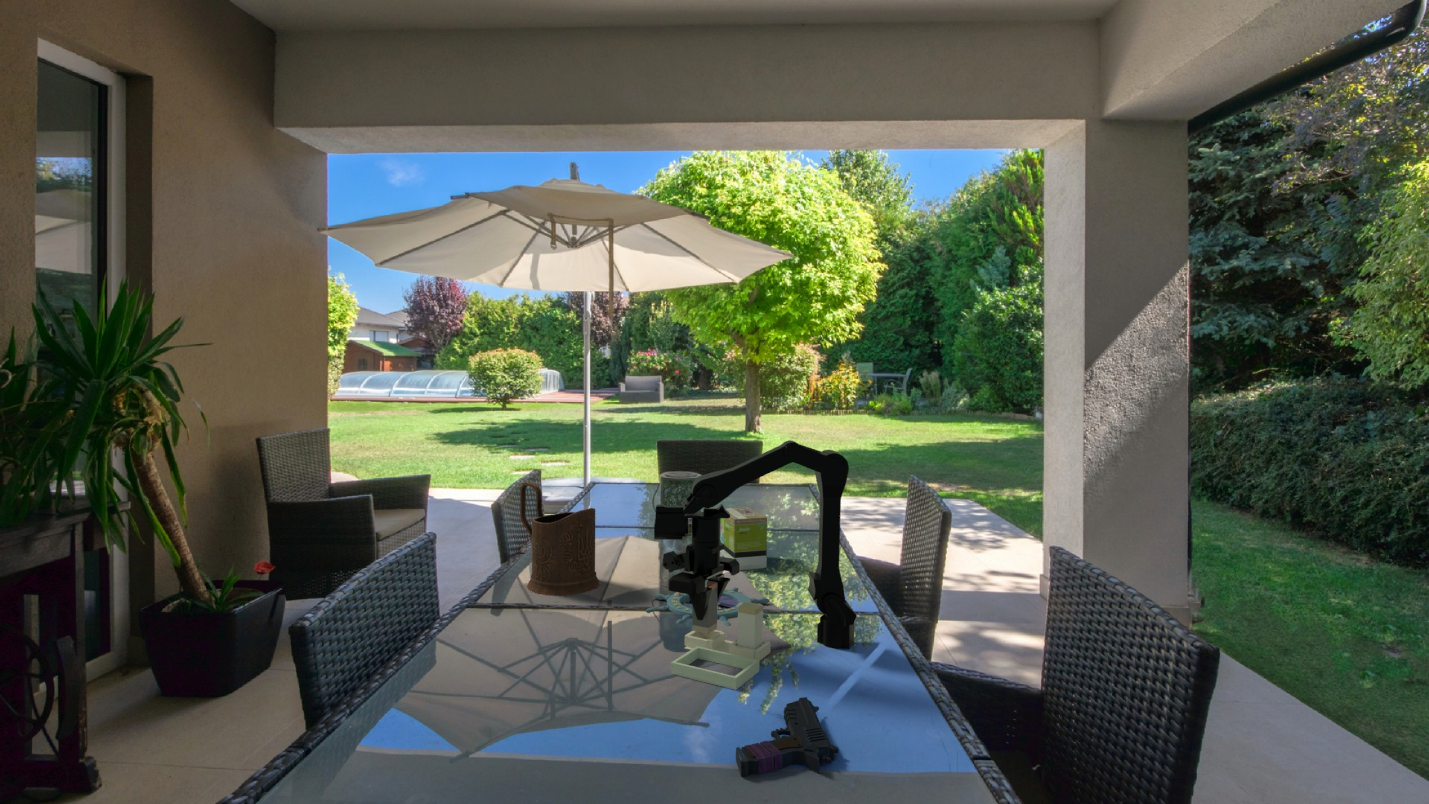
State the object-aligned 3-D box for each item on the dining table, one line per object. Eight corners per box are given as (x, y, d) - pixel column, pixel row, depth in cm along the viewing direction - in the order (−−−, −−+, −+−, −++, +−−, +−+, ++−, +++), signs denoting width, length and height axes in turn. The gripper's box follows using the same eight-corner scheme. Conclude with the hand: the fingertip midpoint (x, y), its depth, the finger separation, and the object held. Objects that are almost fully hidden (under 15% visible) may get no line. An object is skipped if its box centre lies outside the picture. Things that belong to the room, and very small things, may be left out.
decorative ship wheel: (793, 589, 182) (739, 627, 156) (793, 603, 182) (739, 643, 156) (685, 572, 196) (618, 604, 170) (685, 584, 196) (618, 618, 170)
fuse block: (773, 655, 149) (773, 640, 148) (755, 669, 142) (755, 653, 141) (701, 639, 156) (701, 625, 156) (681, 652, 149) (681, 637, 149)
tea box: (717, 557, 223) (717, 507, 222) (749, 555, 226) (750, 506, 225) (733, 571, 208) (734, 517, 207) (767, 568, 211) (768, 516, 210)
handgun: (727, 714, 125) (818, 712, 125) (738, 781, 105) (846, 778, 106) (727, 697, 124) (818, 695, 125) (738, 761, 105) (846, 758, 105)
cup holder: (565, 600, 181) (566, 496, 180) (495, 584, 193) (495, 486, 192) (615, 582, 197) (615, 486, 195) (546, 567, 209) (547, 477, 208)
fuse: (762, 652, 147) (763, 604, 147) (754, 658, 144) (754, 610, 144) (745, 649, 149) (746, 601, 148) (737, 655, 146) (738, 606, 145)
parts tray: (759, 676, 138) (759, 660, 138) (735, 695, 130) (736, 678, 130) (696, 661, 145) (697, 646, 145) (670, 678, 137) (671, 662, 137)
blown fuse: (716, 628, 152) (717, 582, 151) (708, 634, 149) (708, 586, 148) (701, 625, 154) (702, 579, 153) (692, 630, 150) (692, 583, 150)
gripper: (694, 526, 162) (693, 598, 163) (645, 543, 146) (644, 623, 147) (741, 532, 157) (740, 606, 158) (695, 551, 141) (694, 634, 141)
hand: (704, 617), depth 151 cm, fingers closed on blown fuse, 4 cm apart
